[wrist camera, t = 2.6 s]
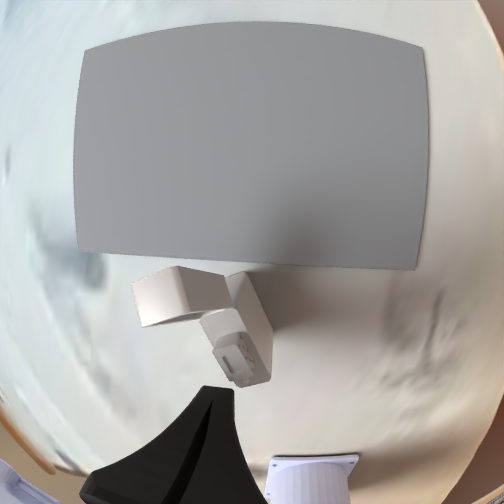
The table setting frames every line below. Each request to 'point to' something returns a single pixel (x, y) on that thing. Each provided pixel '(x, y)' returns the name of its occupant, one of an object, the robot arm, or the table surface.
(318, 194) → the mat
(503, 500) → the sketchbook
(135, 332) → the table surface
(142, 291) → the lighter
